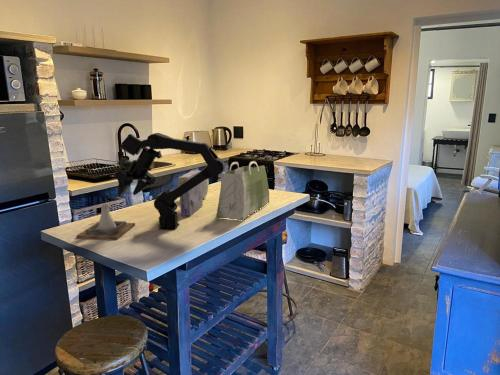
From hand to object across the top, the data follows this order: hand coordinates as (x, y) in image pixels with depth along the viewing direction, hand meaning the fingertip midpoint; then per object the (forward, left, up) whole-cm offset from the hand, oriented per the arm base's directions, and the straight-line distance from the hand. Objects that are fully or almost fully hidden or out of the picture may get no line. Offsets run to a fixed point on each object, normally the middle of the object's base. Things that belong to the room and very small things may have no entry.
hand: (126, 195), depth 148 cm
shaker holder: (+7, +6, -14) cm, 16 cm away
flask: (+7, +6, -13) cm, 15 cm away
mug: (-16, -48, -14) cm, 53 cm away
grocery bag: (-43, -28, -14) cm, 53 cm away
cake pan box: (-19, -25, -14) cm, 35 cm away
